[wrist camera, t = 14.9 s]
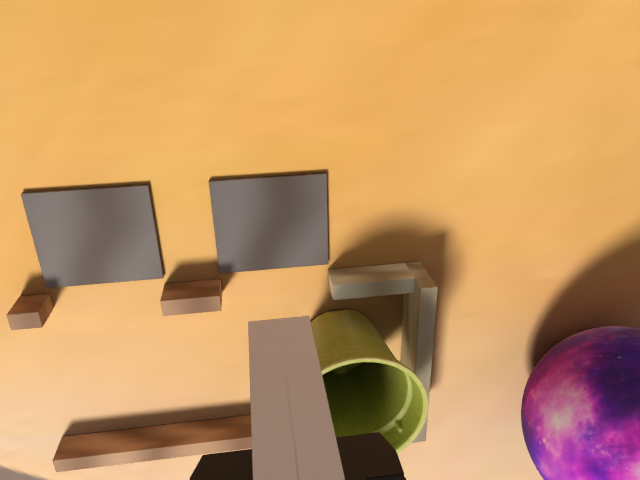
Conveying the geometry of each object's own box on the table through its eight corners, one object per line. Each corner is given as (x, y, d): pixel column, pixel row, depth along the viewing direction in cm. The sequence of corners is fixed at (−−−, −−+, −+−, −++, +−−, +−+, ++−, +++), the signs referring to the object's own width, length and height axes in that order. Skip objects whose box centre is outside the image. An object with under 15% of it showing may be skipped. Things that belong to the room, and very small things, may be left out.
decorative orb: (608, 257, 44) (773, 376, 30) (675, 363, 50) (838, 501, 36) (458, 365, 46) (549, 518, 33) (540, 453, 52) (645, 613, 39)
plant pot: (345, 403, 46) (366, 486, 38) (256, 354, 43) (260, 434, 35) (417, 326, 44) (456, 398, 36) (329, 268, 41) (351, 334, 33)
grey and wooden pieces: (65, 447, 44) (50, 488, 40) (-11, 194, 35) (-39, 217, 31) (411, 406, 47) (425, 440, 44) (426, 166, 38) (445, 184, 35)
